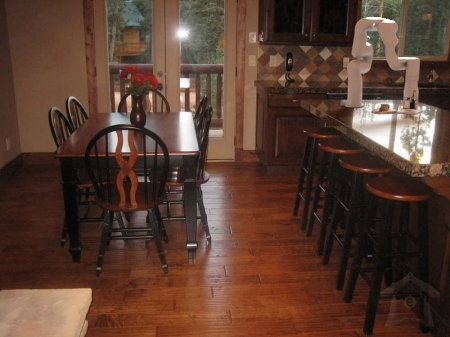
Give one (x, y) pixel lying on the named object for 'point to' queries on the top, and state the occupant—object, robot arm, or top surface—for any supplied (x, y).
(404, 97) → the supplement box
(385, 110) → the tan round plate
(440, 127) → the top surface
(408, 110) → the mat
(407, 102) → the cap
